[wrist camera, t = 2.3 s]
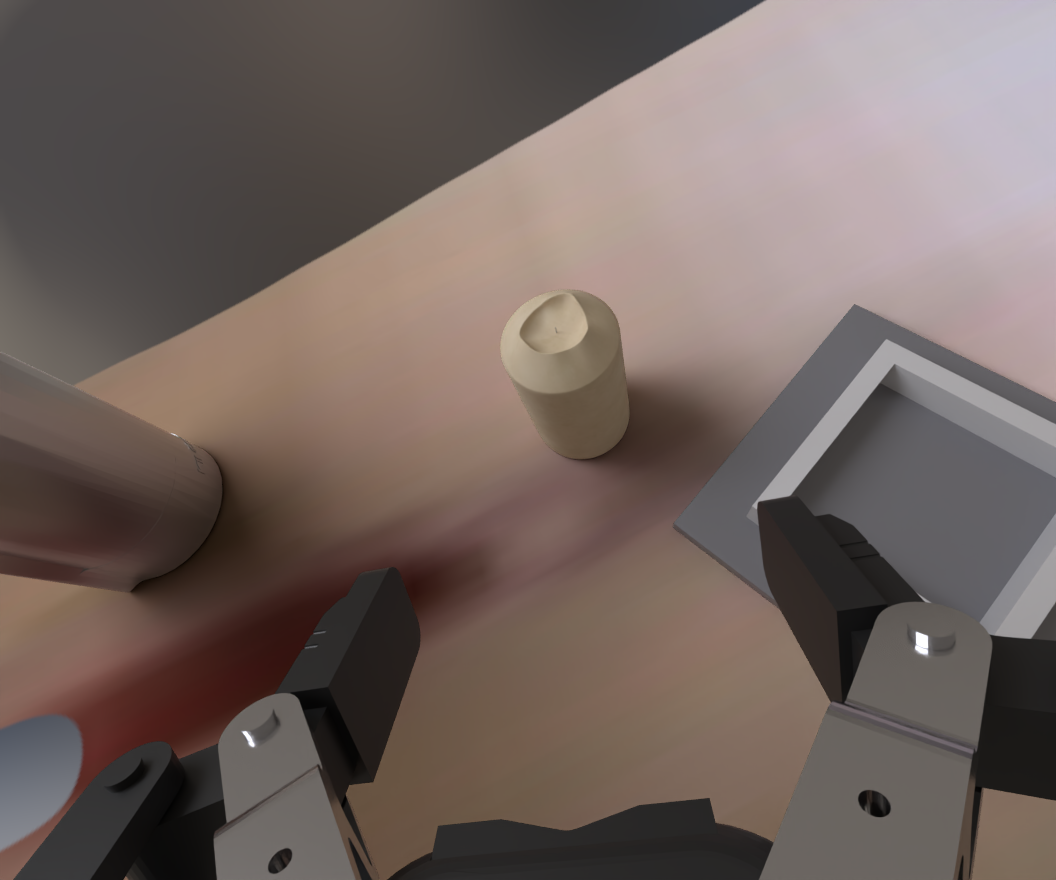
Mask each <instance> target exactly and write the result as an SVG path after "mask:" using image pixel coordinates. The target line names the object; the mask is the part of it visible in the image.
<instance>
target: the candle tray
mask: <svg viewBox="0 0 1056 880" xmlns="http://www.w3.org/2000/svg"><path fill="white" fill-rule="evenodd" d="M792 495H796V496H798V497H799V498H800V499H801V501H802V502H803V503H804V504H805V505H806V506H807V508H808V509H809V510H810V511H811V512H812V514H813V515H814V516H820V515H826V514H831V515H833V516H835V517H838V518H840V519H842V520H844V521H846V522H848V523H850V524H852V525H854V527H855V528H856V529H857V530H858V531H859V532H860V533H861V534H862V535H863V536H864V537H865V538H866V539H867V540H868V544H871V545H872V546H873V547H874V548H875V549H876V550H877V551H878V552H879V553H880V556H881V557H883V558H884V559H885V560H886V561H887V562H888V563H889V564H890V565H891V566H892V567H893V568H894V569H895V570H896V571H897V572H898V574H899V575H900V576H901V577H902V578H903V579H904V580H905V581H906V582H907V583H908V584H909V585H910V586H911V587H912V589H913V590H914V591H915V592H916V593H917V594H918V595H919V596H920V597H921V598H922V599H923V600H924V601H925V602H929V603H935V604H940V605H944V606H948V607H950V608H953V609H956V610H959V611H961V612H963V613H965V614H967V615H969V616H970V617H972V618H974V619H975V620H976V621H978V622H979V623H980V624H981V625H982V626H983V627H984V628H985V629H986V630H987V632H988V633H989V634H990V635H995V636H1004V637H1015V638H1028V639H1040V640H1053V641H1056V402H1054V401H1052V400H1050V399H1048V398H1046V397H1044V396H1042V395H1039V394H1037V393H1035V392H1033V391H1031V390H1029V389H1027V388H1025V387H1023V386H1021V385H1019V384H1017V383H1015V382H1013V381H1011V380H1009V379H1007V378H1005V377H1003V376H1001V375H999V374H997V373H994V372H992V371H990V370H988V369H986V368H984V367H982V366H980V365H978V364H976V363H974V362H972V361H970V360H968V359H966V358H964V357H962V356H960V355H958V354H956V353H954V352H952V351H950V350H947V349H945V348H943V347H941V346H939V345H937V344H935V343H933V342H931V341H929V340H927V339H925V338H923V337H921V336H919V335H917V334H915V333H913V332H911V331H909V330H907V329H905V328H902V327H900V326H898V325H896V324H894V323H892V322H890V321H888V320H886V319H884V318H882V317H880V316H878V315H876V314H874V313H872V312H870V311H868V310H866V309H864V308H862V307H860V306H857V305H855V304H854V305H853V306H852V308H851V309H850V310H849V311H848V313H847V314H846V315H845V316H844V317H843V319H842V320H841V321H840V322H839V323H838V325H837V326H836V327H835V328H834V329H833V331H832V332H831V333H830V334H829V336H828V337H827V338H826V339H825V340H824V342H823V343H822V344H821V345H820V346H819V348H818V349H817V350H816V351H815V353H814V354H813V355H812V356H811V357H810V359H809V360H808V361H807V362H806V363H805V365H804V366H803V367H802V368H801V369H800V371H799V372H798V373H797V374H796V376H795V377H794V378H793V379H792V380H791V382H790V383H789V384H788V385H787V386H786V388H785V389H784V390H783V391H782V393H781V394H780V395H779V396H778V397H777V399H776V400H775V401H774V402H773V403H772V405H771V406H770V407H769V408H768V409H767V411H766V412H765V413H764V414H763V416H762V417H761V418H760V419H759V420H758V422H757V423H756V424H755V425H754V426H753V428H752V429H751V430H750V431H749V433H748V434H747V435H746V436H745V437H744V439H743V440H742V441H741V442H740V443H739V445H738V446H737V447H736V448H735V449H734V451H733V452H732V453H731V454H730V456H729V457H728V458H727V459H726V460H725V462H724V463H723V464H722V465H721V466H720V468H719V469H718V470H717V471H716V473H715V474H714V475H713V476H712V477H711V479H710V480H709V481H708V482H707V483H706V485H705V486H704V487H703V488H702V490H701V491H700V492H699V493H698V494H697V496H696V497H695V498H694V499H693V500H692V502H691V503H690V504H689V505H688V506H687V508H686V509H685V510H684V511H683V513H682V514H681V515H680V516H679V517H678V519H677V520H676V521H675V522H674V525H673V528H674V529H675V530H677V531H678V532H679V533H681V534H682V535H683V536H685V537H686V538H687V539H689V540H690V541H691V542H692V543H694V544H695V545H696V546H698V547H699V548H700V549H702V550H703V551H704V552H706V553H707V554H708V555H709V556H711V557H712V558H713V559H715V560H716V561H717V562H719V563H720V564H721V565H723V566H724V567H725V568H726V569H728V570H729V571H730V572H732V573H733V574H734V575H736V576H737V577H738V578H740V579H741V580H742V581H743V582H745V583H746V584H747V585H749V586H750V587H751V588H753V589H754V590H755V591H757V592H758V593H759V594H760V595H762V596H763V597H764V598H766V599H767V600H768V601H770V602H771V603H772V604H773V605H775V606H776V607H777V608H779V606H778V604H777V603H776V601H775V599H774V597H773V595H772V593H771V591H770V588H769V586H768V583H767V579H766V576H765V572H764V567H763V559H762V550H761V541H760V532H759V523H758V514H757V504H758V502H759V501H764V500H770V499H775V498H781V497H787V496H792ZM779 609H780V608H779Z"/></svg>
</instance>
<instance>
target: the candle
mask: <svg viewBox="0 0 1056 880" xmlns="http://www.w3.org/2000/svg"><path fill="white" fill-rule="evenodd" d="M500 353H501V359H502V362H503V365H504V367H505V369H506V371H507V373H508V375H509V377H510V378H511V380H512V382H513V384H514V386H515V388H516V390H517V392H518V394H519V396H520V398H521V400H522V402H523V404H524V405H525V407H526V409H527V411H528V413H529V415H530V417H531V419H532V421H533V423H534V425H535V427H536V429H537V430H538V432H539V434H540V436H541V438H542V439H543V440H544V442H545V443H546V444H547V445H548V446H549V447H550V448H551V449H552V450H554V451H555V452H557V453H558V454H560V455H562V456H565V457H568V458H572V459H589V458H594V457H597V456H600V455H602V454H604V453H606V452H608V451H609V450H611V449H612V448H613V447H614V446H615V445H616V444H617V443H618V442H619V441H620V440H621V438H622V437H623V435H624V433H625V431H626V429H627V426H628V422H629V414H630V410H629V400H628V392H627V384H626V376H625V368H624V359H623V351H622V343H621V335H620V328H619V324H618V321H617V318H616V316H615V314H614V313H613V311H612V310H611V309H610V307H609V306H608V305H607V304H606V303H605V302H603V301H602V300H601V299H599V298H598V297H596V296H594V295H592V294H589V293H586V292H583V291H578V290H568V289H567V290H556V291H551V292H547V293H544V294H541V295H539V296H537V297H535V298H533V299H531V300H529V301H528V302H526V303H525V304H524V305H522V306H521V307H520V308H519V309H518V310H517V311H516V312H515V313H514V314H513V315H512V317H511V318H510V319H509V321H508V323H507V324H506V326H505V329H504V331H503V334H502V337H501V344H500Z"/></svg>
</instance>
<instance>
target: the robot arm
mask: <svg viewBox="0 0 1056 880" xmlns="http://www.w3.org/2000/svg"><path fill="white" fill-rule="evenodd" d="M222 492H223V490H222V477H221V474H220V471H219V467H218V465H217V464H216V462H215V461H214V459H213V457H212V456H210V455H209V454H208V453H207V452H206V451H205V450H203V449H201V448H199V447H197V446H195V445H193V444H191V443H189V442H188V441H186V440H184V439H182V438H181V437H178V436H176V435H174V434H171V433H169V432H166V431H164V430H162V429H160V428H158V427H156V426H154V425H152V424H150V423H148V422H146V421H144V420H142V419H140V418H138V417H136V416H134V415H132V414H130V413H128V412H125V411H123V410H121V409H119V408H117V407H115V406H113V405H111V404H109V403H107V402H105V401H103V400H101V399H99V398H96V397H94V396H92V395H90V394H88V393H86V392H84V391H82V390H80V389H78V388H76V387H74V386H72V385H69V384H67V383H65V382H63V381H61V380H59V379H57V378H55V377H53V376H51V375H49V374H47V373H44V372H43V371H41V370H38V369H36V368H34V367H32V366H30V365H28V364H26V363H24V362H22V361H20V360H18V359H16V358H13V357H12V356H9V355H7V354H5V353H3V352H1V351H0V574H5V575H12V576H18V577H25V578H32V579H39V580H46V581H53V582H59V583H66V584H73V585H80V586H87V587H94V588H100V589H107V590H114V591H121V592H130V591H131V590H132V589H133V588H134V587H135V586H136V585H137V584H138V583H140V582H141V581H143V580H146V579H150V578H154V577H158V576H161V575H163V574H165V573H168V572H170V571H172V570H174V569H175V568H177V567H178V566H179V565H181V564H182V563H184V562H185V561H186V560H187V559H188V558H189V557H190V556H191V555H192V554H193V553H194V552H195V551H196V550H197V549H198V548H199V547H200V546H201V544H202V543H203V542H204V540H205V539H206V537H207V536H208V535H209V533H210V531H211V529H212V527H213V525H214V523H215V521H216V518H217V515H218V512H219V509H220V506H221V499H222ZM757 514H758V523H759V532H760V541H761V550H762V559H763V567H764V572H765V576H766V579H767V583H768V586H769V588H770V591H771V593H772V595H773V597H774V599H775V601H776V603H777V604H778V606H779V608H780V610H781V612H782V614H783V615H784V617H785V619H786V621H787V623H788V625H789V626H790V628H791V630H792V632H793V634H794V636H795V637H796V639H797V641H798V643H799V645H800V647H801V648H802V650H803V652H804V654H805V656H806V658H807V659H808V661H809V663H810V665H811V667H812V669H813V670H814V672H815V674H816V676H817V678H818V679H819V681H820V683H821V685H822V687H823V689H824V690H825V692H826V694H827V696H828V698H829V700H830V701H831V704H830V705H829V707H828V709H827V711H826V713H825V716H824V718H823V721H822V723H821V726H820V728H819V731H818V733H817V736H816V738H815V741H814V743H813V746H812V748H811V751H810V753H809V756H808V758H807V761H806V763H805V766H804V768H803V771H802V773H801V776H800V778H799V781H798V783H797V786H796V788H795V791H794V793H793V796H792V798H791V801H790V803H789V806H788V808H787V811H786V813H785V816H784V818H783V821H782V823H781V826H780V828H779V831H778V833H777V836H776V838H775V841H774V843H773V842H772V841H770V840H768V839H766V838H764V837H761V836H759V835H757V834H754V833H752V832H749V831H747V830H743V829H740V828H736V827H733V826H729V825H724V824H719V823H715V819H714V815H713V811H712V807H711V803H710V799H709V798H706V799H696V800H686V801H676V802H667V803H657V804H647V805H639V806H636V807H633V808H631V809H628V810H625V811H623V812H620V813H617V814H615V815H612V816H609V817H607V818H604V819H601V820H599V821H596V822H593V823H591V824H588V825H585V826H583V827H580V828H577V829H574V830H569V831H564V830H557V829H551V828H546V827H540V826H535V825H529V824H524V823H518V822H513V821H507V820H502V819H500V820H491V821H481V822H471V823H461V824H452V825H442V826H438V830H437V834H436V839H435V844H434V848H433V852H431V853H429V854H426V855H424V856H423V857H421V858H419V859H417V860H415V861H413V862H411V863H410V864H408V865H407V866H405V867H404V868H402V869H401V870H399V871H398V872H396V873H395V874H394V875H392V876H391V877H390V878H389V879H387V880H972V874H973V867H974V859H975V851H976V844H977V836H978V828H979V821H980V813H981V806H982V798H983V790H984V788H988V789H994V790H999V791H1005V792H1011V793H1016V794H1022V795H1028V796H1033V797H1039V798H1045V799H1050V800H1056V641H1053V640H1040V639H1028V638H1015V637H1004V636H995V635H990V634H989V633H988V632H987V630H986V629H985V628H984V627H983V626H982V625H981V624H980V623H979V622H978V621H976V620H975V619H974V618H972V617H970V616H969V615H967V614H965V613H963V612H961V611H959V610H956V609H953V608H950V607H948V606H944V605H940V604H935V603H929V602H925V601H924V600H923V599H922V598H921V597H920V596H919V595H918V594H917V593H916V592H915V591H914V590H913V589H912V587H911V586H910V585H909V584H908V583H907V582H906V581H905V580H904V579H903V578H902V577H901V576H900V575H899V574H898V572H897V571H896V570H895V569H894V568H893V567H892V566H891V565H890V564H889V563H888V562H887V561H886V560H885V559H884V558H883V557H881V556H880V553H879V552H878V551H877V550H876V549H875V548H874V547H873V546H872V545H871V544H868V540H867V539H866V538H865V537H864V536H863V535H862V534H861V533H860V532H859V531H858V530H857V529H856V528H855V527H854V525H852V524H850V523H848V522H846V521H844V520H842V519H840V518H838V517H835V516H833V515H831V514H826V515H820V516H814V515H813V514H812V512H811V511H810V510H809V509H808V508H807V506H806V505H805V504H804V503H803V502H802V501H801V499H800V498H799V497H798V496H796V495H792V496H787V497H781V498H775V499H770V500H764V501H759V502H758V504H757ZM313 632H314V634H313V635H311V636H310V638H309V639H308V641H307V643H306V644H305V649H302V651H301V652H300V654H299V656H298V657H297V659H296V660H295V662H294V664H293V665H292V667H291V669H290V670H289V672H288V673H287V675H286V677H285V678H284V680H283V681H282V683H281V685H280V686H279V688H278V690H277V691H276V693H275V694H274V695H271V696H268V697H265V698H263V699H261V700H259V701H257V702H255V703H253V704H252V705H250V706H249V707H247V708H246V709H244V710H243V711H242V712H241V713H239V714H238V715H237V716H236V717H235V718H234V719H233V720H232V721H231V722H230V723H229V725H228V726H227V727H226V729H225V730H224V732H223V733H222V735H221V738H220V740H219V744H216V745H214V746H211V747H209V748H206V749H204V750H201V751H199V752H196V753H193V754H191V755H188V756H186V757H183V758H181V759H178V758H177V756H176V754H175V753H174V751H173V750H172V748H171V747H170V745H169V744H168V743H165V742H160V741H157V742H151V743H147V744H144V745H141V746H139V747H137V748H135V749H132V750H131V751H129V752H127V753H125V754H124V755H122V756H121V757H119V758H118V759H116V760H115V761H113V762H112V763H111V764H109V765H108V766H107V767H106V768H105V769H104V770H102V771H101V772H100V773H99V774H98V775H97V776H96V777H95V778H94V779H93V781H92V782H91V783H90V784H89V785H88V787H87V788H86V789H85V790H84V792H83V793H82V794H81V795H80V797H79V798H78V799H77V800H76V802H75V803H74V804H73V805H72V807H71V808H70V809H69V810H68V812H67V813H66V814H65V815H64V817H63V818H62V819H61V820H60V822H59V823H58V824H57V825H56V827H55V828H54V829H53V831H52V832H51V833H50V834H49V836H48V837H47V838H46V839H45V841H44V842H43V843H42V844H41V846H40V847H39V848H38V849H37V851H36V852H35V853H34V854H33V856H32V857H31V858H30V859H29V861H28V862H27V863H26V864H25V866H24V867H23V868H22V869H21V871H20V872H19V873H18V874H17V876H16V877H15V878H14V879H13V880H123V879H124V878H125V876H126V877H127V878H128V879H129V880H380V877H379V875H378V872H377V869H376V867H375V864H374V862H373V859H372V856H371V854H370V851H369V849H368V846H367V843H366V841H365V838H364V836H363V833H362V830H361V828H360V825H359V822H358V820H357V817H356V815H355V812H354V809H353V807H352V805H351V803H350V801H349V799H348V797H347V795H346V791H347V789H348V786H349V785H352V784H361V783H370V782H373V781H374V778H375V775H376V773H377V770H378V767H379V764H380V761H381V758H382V755H383V752H384V749H385V747H386V744H387V741H388V738H389V735H390V732H391V729H392V726H393V723H394V720H395V718H396V715H397V712H398V709H399V706H400V703H401V700H402V697H403V694H404V691H405V689H406V686H407V683H408V680H409V677H410V674H411V671H412V668H413V665H414V663H415V660H416V657H417V654H418V651H419V647H420V628H419V623H418V620H417V617H416V614H415V612H414V609H413V607H412V604H411V601H410V599H409V596H408V594H407V591H406V588H405V586H404V583H403V580H402V578H401V575H400V573H399V572H398V570H397V569H396V568H394V567H390V568H384V569H378V570H373V571H367V572H362V573H361V574H359V576H358V577H357V579H356V581H355V582H354V584H353V586H352V588H351V589H350V591H349V593H348V594H347V596H346V597H344V598H341V599H340V600H339V601H338V602H337V603H336V604H334V605H333V606H332V607H331V608H330V609H329V610H328V611H327V612H326V613H325V614H324V615H323V617H322V618H321V620H320V622H319V623H318V625H317V626H316V628H315V630H314V631H313Z"/></svg>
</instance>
